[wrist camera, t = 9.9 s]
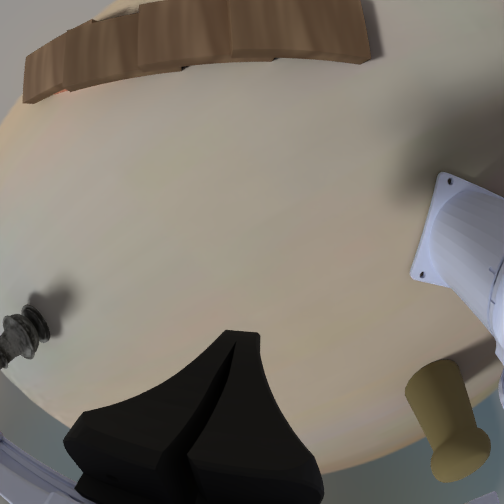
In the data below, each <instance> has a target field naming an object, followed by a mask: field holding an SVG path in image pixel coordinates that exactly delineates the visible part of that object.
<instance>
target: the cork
mask: <svg viewBox="0 0 504 504" xmlns="http://www.w3.org/2000/svg"><path fill="white" fill-rule="evenodd" d="M405 396H406V398H407V400H408V402H409V404H410V406H411V408H412V410H413V412H414V414H415V415H416V417H417V419H418V421H419V423H420V425H421V427H422V429H423V431H424V433H425V435H426V437H427V439H428V441H429V443H430V445H431V447H432V449H433V451H434V453H433V455H432V458H431V469H432V473H433V475H434V476H435V478H436V479H437V480H439V481H440V482H443V483H445V482H446V483H447V482H454V481H457V480H460V479H462V478H464V477H466V476H468V475H470V474H471V473H473V472H475V471H476V470H477V469H479V468H480V467H481V466H482V465H483V464H484V463H485V461H486V460H487V458H488V457H489V455H490V450H491V443H490V439H489V437H488V435H487V434H486V433H485V432H484V431H483V430H482V429H480V428H477V425H476V422H475V418H474V414H473V410H472V407H471V404H470V400H469V397H468V394H467V391H466V387H465V384H464V381H463V378H462V376H461V373H460V370H459V367H458V365H457V364H456V363H455V362H454V361H451V360H439V361H435V362H432V363H430V364H428V365H426V366H425V367H423V368H421V369H420V370H419V371H418V372H417V373H415V374H414V375H413V377H412V378H411V379H410V380H409V382H408V384H407V386H406V388H405Z"/></svg>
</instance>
